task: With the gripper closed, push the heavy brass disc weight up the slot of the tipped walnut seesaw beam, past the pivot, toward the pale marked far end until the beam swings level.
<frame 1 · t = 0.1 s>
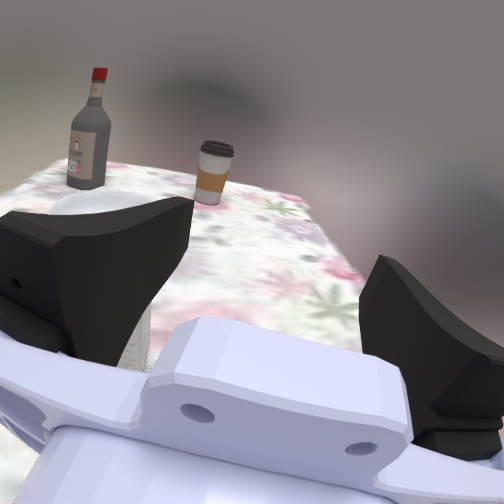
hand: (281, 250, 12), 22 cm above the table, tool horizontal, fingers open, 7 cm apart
coffee cup: (206, 201, 80), on the table
small box: (111, 355, 31), on the table
liquor: (85, 184, 72), on the table
serving bowl: (109, 250, 49), on the table
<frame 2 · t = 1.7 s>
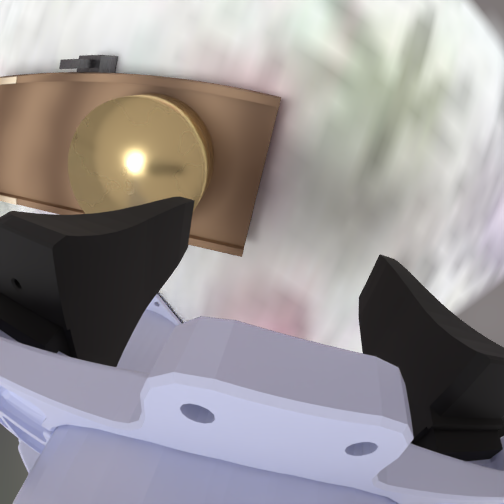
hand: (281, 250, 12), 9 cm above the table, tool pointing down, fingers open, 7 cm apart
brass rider: (149, 158, 18), point 3 cm above the table, tilted 7°, touching beam
beam: (69, 145, 18), point 3 cm above the table, hinge at -6.6°, touching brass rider
beam stand: (96, 136, 20), on the table
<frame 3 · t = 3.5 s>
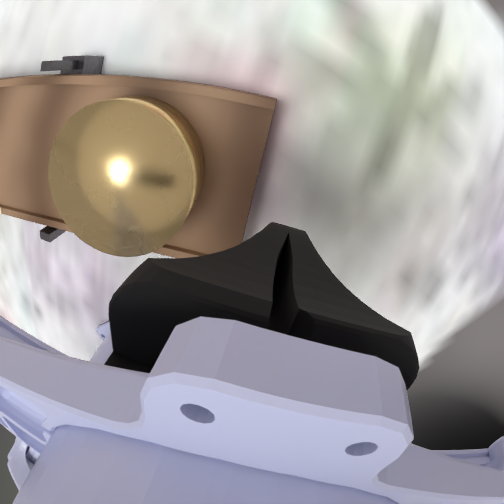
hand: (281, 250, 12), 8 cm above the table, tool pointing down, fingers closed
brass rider: (135, 166, 16), point 3 cm above the table, tilted 7°, touching beam
beam: (52, 152, 16), point 3 cm above the table, hinge at -6.6°, touching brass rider
beam stand: (82, 141, 19), on the table
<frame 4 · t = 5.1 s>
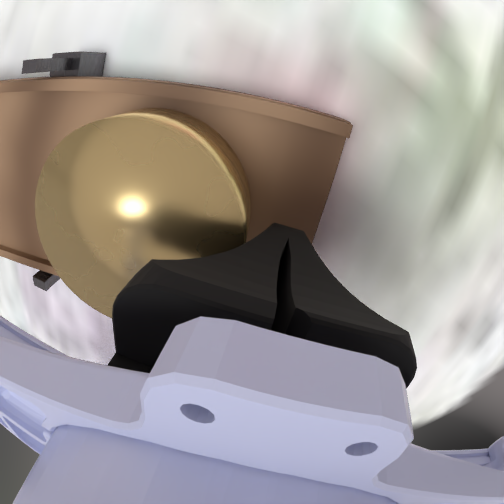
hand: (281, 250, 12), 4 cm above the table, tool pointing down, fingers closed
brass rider: (154, 204, 13), point 3 cm above the table, tilted 7°, touching beam, gripper
beam: (42, 179, 13), point 3 cm above the table, hinge at -6.6°, touching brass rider
beam stand: (80, 162, 15), on the table
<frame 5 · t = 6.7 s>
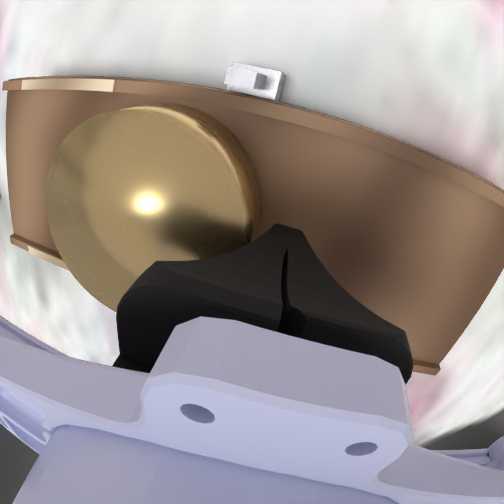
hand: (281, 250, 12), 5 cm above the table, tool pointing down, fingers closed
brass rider: (164, 200, 13), point 4 cm above the table, touching gripper
beam: (218, 216, 13), point 3 cm above the table, hinge at 0.4°
beam stand: (236, 192, 16), on the table
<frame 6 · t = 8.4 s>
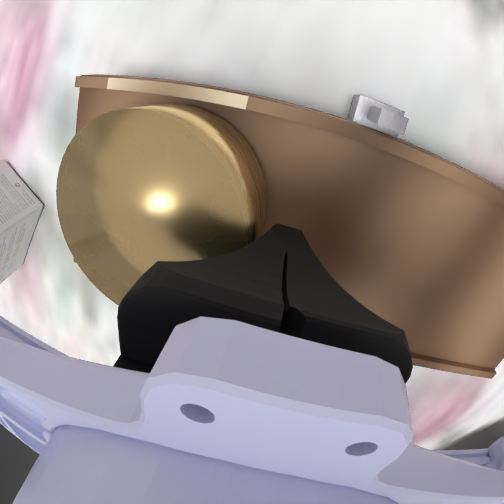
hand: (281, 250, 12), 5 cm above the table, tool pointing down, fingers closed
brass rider: (173, 199, 13), point 4 cm above the table, tilted 5°, touching beam, gripper
small box: (15, 214, 20), on the table
beam: (341, 245, 13), point 3 cm above the table, hinge at 0.7°, touching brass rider
beam stand: (336, 216, 16), on the table
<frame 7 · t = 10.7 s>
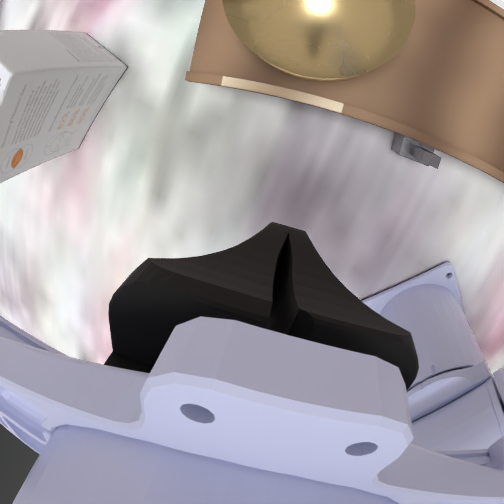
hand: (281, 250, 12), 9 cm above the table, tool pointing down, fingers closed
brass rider: (318, 9, 12), point 4 cm above the table, touching beam
small box: (81, 90, 19), on the table
beam: (449, 61, 12), point 3 cm above the table, hinge at 0.8°, touching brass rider
beam stand: (429, 65, 14), on the table
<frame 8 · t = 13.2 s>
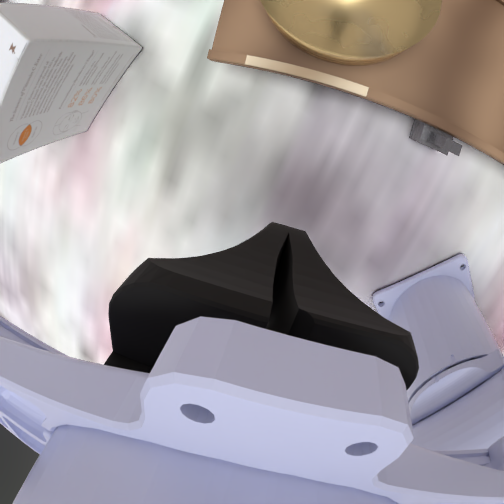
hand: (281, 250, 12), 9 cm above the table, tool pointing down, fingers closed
small box: (93, 72, 18), on the table
beam: (469, 53, 11), point 3 cm above the table, hinge at 0.8°, touching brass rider
beam stand: (446, 57, 14), on the table
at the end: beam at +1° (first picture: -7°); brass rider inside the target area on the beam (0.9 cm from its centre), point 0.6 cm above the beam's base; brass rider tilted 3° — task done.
